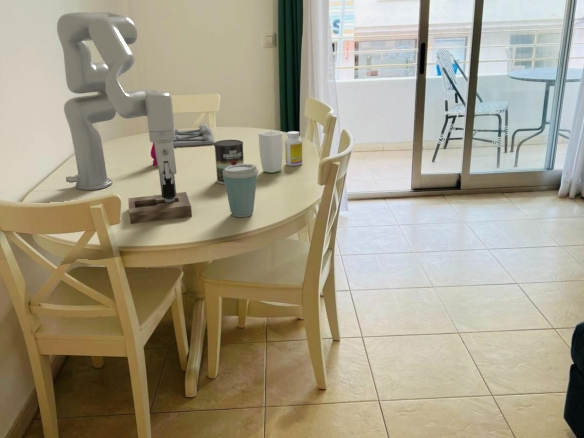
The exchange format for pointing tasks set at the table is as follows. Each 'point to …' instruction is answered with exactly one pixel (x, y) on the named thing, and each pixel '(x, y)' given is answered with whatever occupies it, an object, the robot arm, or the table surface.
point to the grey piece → (194, 137)
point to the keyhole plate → (158, 208)
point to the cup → (271, 151)
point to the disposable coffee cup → (241, 188)
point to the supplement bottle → (293, 149)
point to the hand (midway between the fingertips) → (168, 193)
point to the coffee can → (227, 156)
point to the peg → (167, 199)
